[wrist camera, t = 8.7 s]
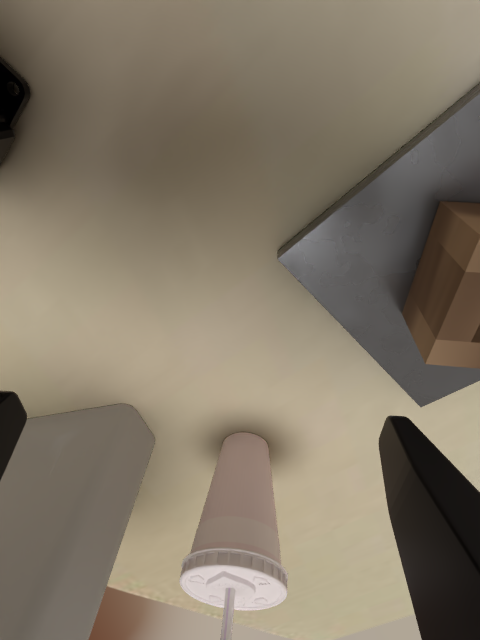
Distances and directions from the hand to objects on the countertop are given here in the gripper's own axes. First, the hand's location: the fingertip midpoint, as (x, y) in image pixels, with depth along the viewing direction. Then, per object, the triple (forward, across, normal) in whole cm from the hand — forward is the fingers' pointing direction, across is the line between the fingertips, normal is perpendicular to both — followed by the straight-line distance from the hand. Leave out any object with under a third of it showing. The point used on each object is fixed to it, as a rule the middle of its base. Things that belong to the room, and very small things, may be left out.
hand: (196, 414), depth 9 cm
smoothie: (+12, -1, +18) cm, 21 cm away
